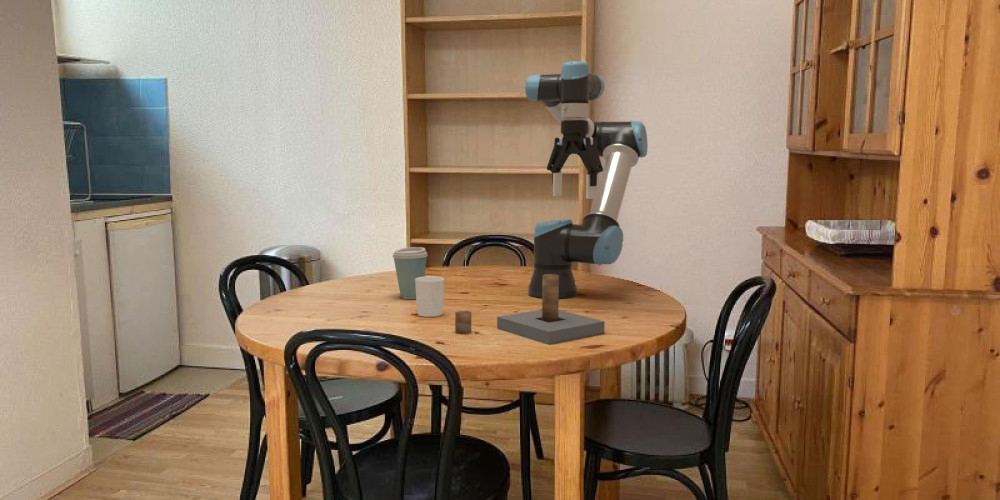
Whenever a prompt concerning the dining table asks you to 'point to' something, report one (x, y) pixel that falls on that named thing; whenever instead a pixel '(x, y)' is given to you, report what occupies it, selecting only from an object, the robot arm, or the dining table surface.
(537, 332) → the hole plate
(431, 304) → the white cup
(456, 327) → the short pin
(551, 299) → the tall pin
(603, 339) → the dining table surface
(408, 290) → the disposable coffee cup
